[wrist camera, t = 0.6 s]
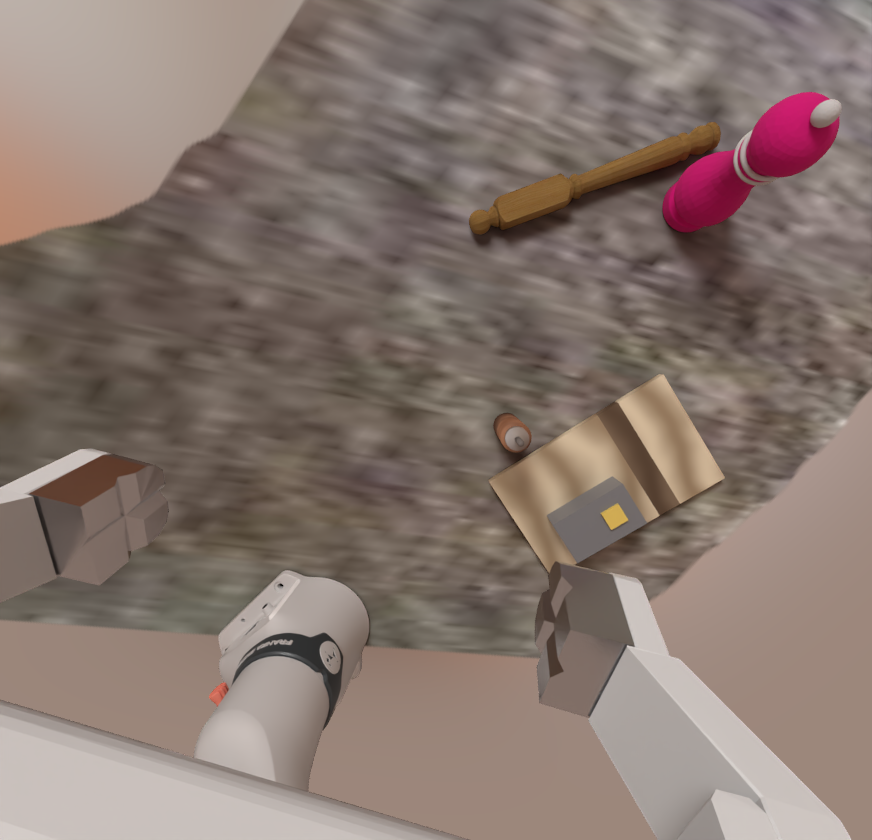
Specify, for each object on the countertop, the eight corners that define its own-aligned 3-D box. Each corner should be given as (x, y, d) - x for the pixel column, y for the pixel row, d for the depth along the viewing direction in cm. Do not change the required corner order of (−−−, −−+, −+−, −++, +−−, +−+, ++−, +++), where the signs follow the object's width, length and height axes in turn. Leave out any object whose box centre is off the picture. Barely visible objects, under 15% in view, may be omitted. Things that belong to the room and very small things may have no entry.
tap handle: (725, 141, 48) (474, 234, 50) (709, 155, 51) (473, 241, 53) (718, 114, 47) (466, 208, 50) (702, 129, 50) (465, 217, 53)
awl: (502, 442, 56) (516, 466, 43) (488, 421, 56) (498, 439, 43) (523, 429, 56) (544, 449, 43) (510, 408, 55) (527, 421, 43)
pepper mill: (645, 212, 51) (765, 119, 32) (685, 161, 50) (834, 31, 31) (690, 249, 52) (837, 178, 32) (731, 198, 51) (908, 94, 31)
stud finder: (569, 551, 56) (578, 564, 53) (546, 515, 56) (553, 526, 52) (635, 513, 55) (648, 524, 51) (612, 476, 55) (624, 484, 51)
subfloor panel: (550, 573, 58) (551, 577, 57) (488, 479, 57) (489, 482, 56) (719, 475, 55) (725, 477, 54) (658, 374, 54) (663, 374, 53)
